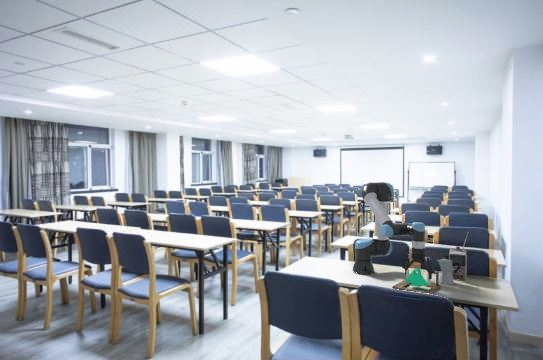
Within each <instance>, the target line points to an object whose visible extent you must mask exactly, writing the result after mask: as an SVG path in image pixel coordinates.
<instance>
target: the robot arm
mask: <svg viewBox="0 0 543 360" xmlns="http://www.w3.org/2000/svg"><path fill="white" fill-rule="evenodd" d="M360 194H361V198H362V200H363V201H364V202H365V204H367V205H368V207H369V209H370V210H371V212H372V213H373V215H374V235H373V236H372V239H371V238H360V239H357V240H356V241H355V243H354V245H355V246H354V249H355V250H354V252H355V253H354V255H355V257H354V259H355V260H354V263H353V266H352V272H353V271H354V272H357V273H362V274H361V275H372V274H371V273H373V274H375V267H374V265H373V258H375V257H376V258H378V257H387V256H390V255H391V253H392V251H393V244H392V242H391V240H390V238H391V237H402V236H403V237H407V236H408V237H411V254H410V253H407V254H406V257H405V260H404V262H403V264H402V266H401V268H402V269H404V275H405V276H406V278H405V279H407V278H408V276H409V275H410V269H409V268H410V267H411V266H412V265H413V264H414V263H416V264H417V263H418V264H421V265H422V266H423V267H424V268H425V270H426V272H427V274H426V275H427V276H426V278H427V279H426V280H427V285H429V284H431V280H432V279H433V275H435V274H434V273H435V272H436V270H435V268H434V266H433V263H432V261H431V257H430V256H426V249H425V247H426V226H425V223H424V222H419V221H418V222H417V221H415V222H414V221H413V222H412V224H411V223H408V222H402V223H397V224H395V223H394V222H393V220H392V219H391V217H390V216H389V214H388V211H389V210H388V209H389V206H388V205H389V203H390V202H391V199H393V197H394V195H395V191H394V187H393V185H392V184H391V183H390V182H384V181H382V182H367V183H365V184H364V185H363V187H362V189H361V193H360ZM410 258H411V260H410ZM409 260H410V262H409ZM425 260H426V261H425ZM408 262H409V263H408ZM426 262H427V263H426ZM354 272H353V273H354ZM357 273H356V274H357ZM432 274H433V275H432Z"/></svg>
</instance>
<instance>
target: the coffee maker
mask: <svg viewBox="0 0 543 360" xmlns="http://www.w3.org/2000/svg"><path fill="white" fill-rule="evenodd" d="M436 261H437V262H438V265H439V266H440V267H439V268H440V274H439V283H440V284H443V285H454V283H455V282H454V279H453V275H452V273H451V272H452V270H453V266H457V265H458V268H457V269H456V270H455V272H454V273H455V274H456V272H457V271H458V270H459V268H460V267H461V266H460V263H458V262H456V261H453V260H450V259H449V254H445V255H444V258H441V259H437V260H436Z"/></svg>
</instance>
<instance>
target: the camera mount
mask: <svg viewBox="0 0 543 360" xmlns="http://www.w3.org/2000/svg"><path fill="white" fill-rule="evenodd" d="M405 279H406V278H405ZM406 283H411V284H410V285H411V286H413V287H417V288H418V287H419V288H421V287H427V279H425V278H424V276H423V274H422V270H421V269H420V268H415V269H413V270H411V272H410V273H409V276H408V278H407V279H406Z"/></svg>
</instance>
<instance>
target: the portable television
mask: <svg viewBox="0 0 543 360" xmlns="http://www.w3.org/2000/svg"><path fill="white" fill-rule="evenodd" d="M468 235H469V231H468V232H467V234H466V238H465V240H464V243H463V247H462V248H461V247H460V246H458V245H457V246H456V247H455V248H453V247H452V248H450V249H449V254H448V259H450V260H453V261H456V262H458V263H460V266H461V267H460V268H459V270H458V271H457V272H456V274H455V273H454V272H455V270H456V269H457V268H458V265H457V266H453V270H452V272H451V273H452V275H453V280H456V279H459V280H458V281H464V280H465V281H467V276H468V275H467V274H468V271H467V270H468V263H467V262H468V256H467V250H466V249H465V248H464V247H465V245H466V241H467V237H468Z"/></svg>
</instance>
